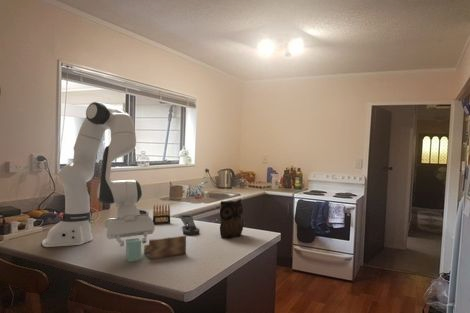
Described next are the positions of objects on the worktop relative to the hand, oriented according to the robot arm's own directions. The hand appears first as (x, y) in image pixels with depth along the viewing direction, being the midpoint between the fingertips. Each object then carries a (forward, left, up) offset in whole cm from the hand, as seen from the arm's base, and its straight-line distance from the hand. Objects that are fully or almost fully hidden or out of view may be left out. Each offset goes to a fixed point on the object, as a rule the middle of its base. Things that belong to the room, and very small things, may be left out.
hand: (133, 243), depth 146 cm
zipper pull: (+39, +36, -6) cm, 53 cm away
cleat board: (+14, -1, -6) cm, 15 cm away
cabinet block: (0, -2, -6) cm, 6 cm away
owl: (+55, +14, -6) cm, 57 cm away
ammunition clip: (+31, +58, -6) cm, 66 cm away
